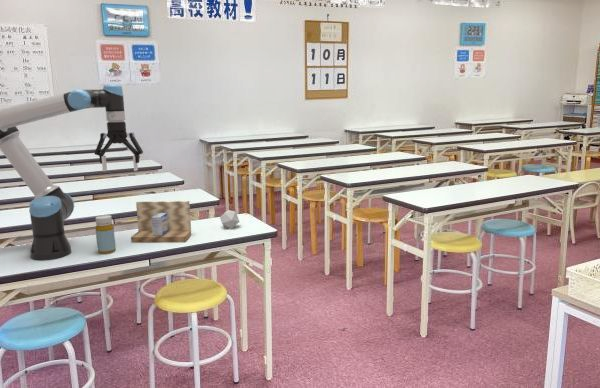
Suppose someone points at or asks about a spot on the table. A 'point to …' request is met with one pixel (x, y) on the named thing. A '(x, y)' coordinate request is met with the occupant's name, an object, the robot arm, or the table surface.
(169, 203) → the cleat board
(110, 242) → the bottle
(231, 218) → the die
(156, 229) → the medicine box
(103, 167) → the robot arm
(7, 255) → the table surface
